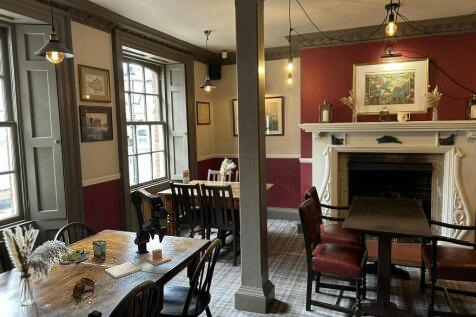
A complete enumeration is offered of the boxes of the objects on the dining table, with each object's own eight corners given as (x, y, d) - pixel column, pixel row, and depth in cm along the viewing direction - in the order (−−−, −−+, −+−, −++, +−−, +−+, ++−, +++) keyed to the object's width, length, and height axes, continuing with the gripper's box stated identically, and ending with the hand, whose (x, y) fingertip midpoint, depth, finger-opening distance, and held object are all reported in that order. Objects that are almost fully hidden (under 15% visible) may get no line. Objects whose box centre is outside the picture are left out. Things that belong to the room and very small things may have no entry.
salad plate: (91, 262, 213) (91, 254, 212) (59, 268, 205) (59, 260, 204) (89, 252, 230) (89, 245, 229) (59, 257, 222) (59, 250, 221)
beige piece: (143, 259, 214) (143, 249, 213) (159, 254, 221) (158, 245, 221) (155, 265, 204) (154, 255, 203) (171, 260, 211) (170, 250, 211)
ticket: (105, 271, 197) (104, 269, 197) (131, 263, 208) (130, 261, 208) (115, 278, 187) (115, 276, 187) (142, 269, 198) (142, 267, 198)
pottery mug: (73, 291, 175) (81, 275, 177) (91, 297, 176) (98, 281, 178) (67, 295, 163) (75, 278, 165) (86, 302, 165) (94, 285, 167)
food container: (111, 258, 218) (110, 242, 217) (101, 260, 213) (100, 245, 212) (102, 253, 226) (101, 238, 225) (93, 256, 222) (92, 241, 221)
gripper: (136, 216, 211) (137, 241, 213) (151, 221, 198) (152, 248, 199) (152, 213, 219) (153, 237, 220) (168, 218, 205) (169, 243, 207)
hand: (156, 241), depth 211 cm, fingers open, 9 cm apart
